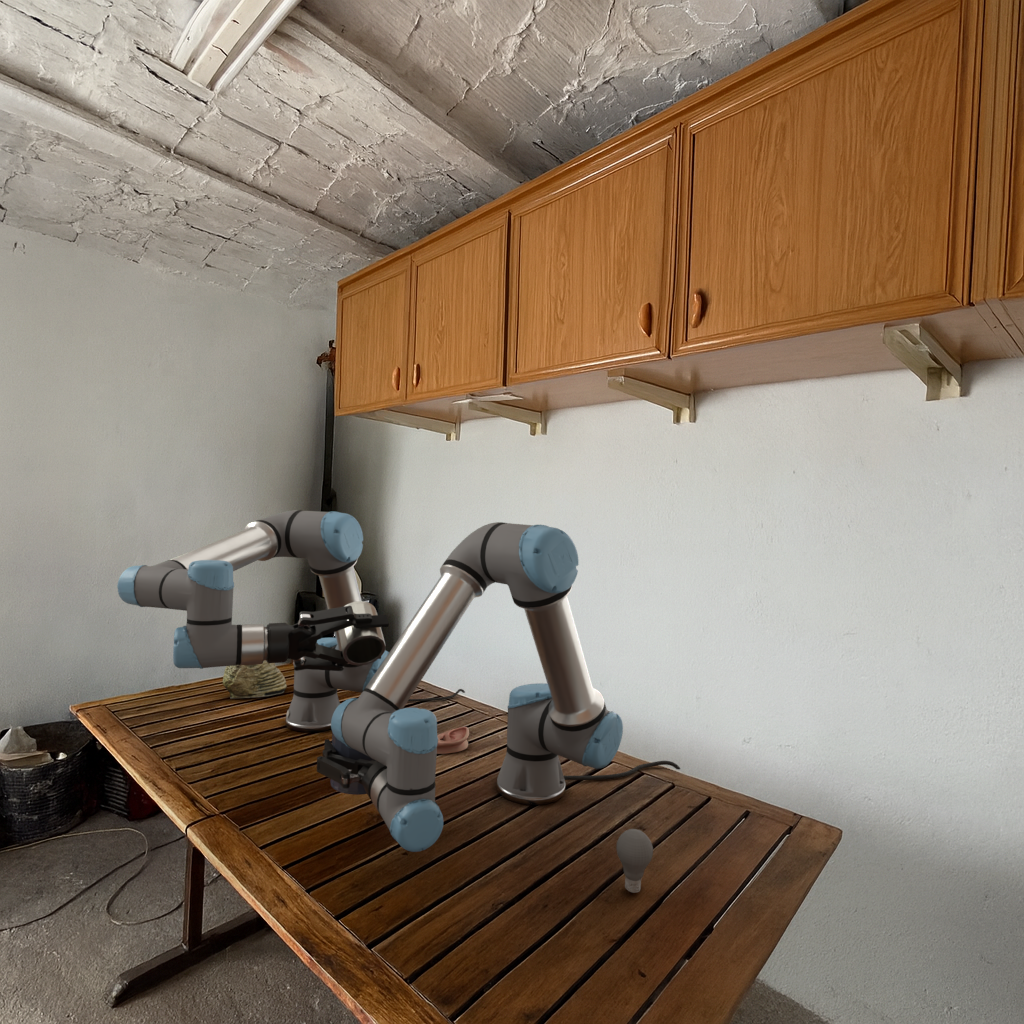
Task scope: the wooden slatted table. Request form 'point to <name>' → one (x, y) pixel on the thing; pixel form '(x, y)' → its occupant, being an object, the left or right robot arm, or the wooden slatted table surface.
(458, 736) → the anatomical model
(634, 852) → the light bulb
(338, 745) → the tub
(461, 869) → the wooden slatted table surface
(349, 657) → the cup
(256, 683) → the fossil
